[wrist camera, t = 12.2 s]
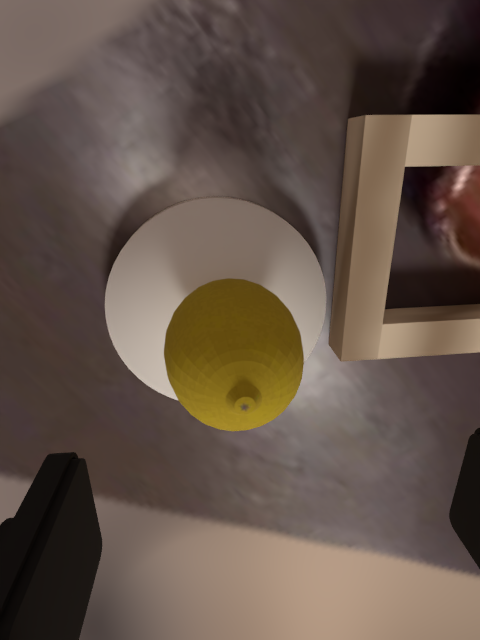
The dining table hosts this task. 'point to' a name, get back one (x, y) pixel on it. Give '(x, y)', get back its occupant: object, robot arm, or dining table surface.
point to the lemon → (233, 354)
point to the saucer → (205, 274)
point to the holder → (379, 233)
